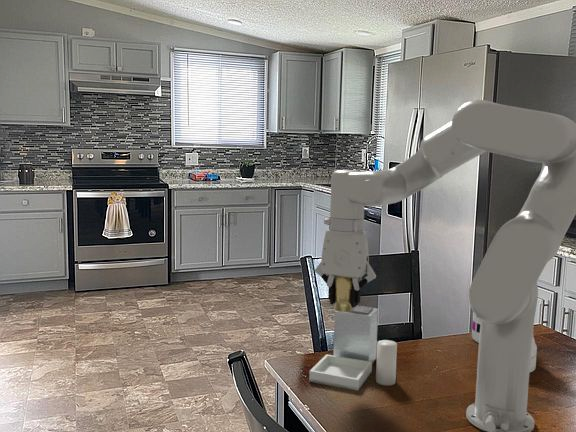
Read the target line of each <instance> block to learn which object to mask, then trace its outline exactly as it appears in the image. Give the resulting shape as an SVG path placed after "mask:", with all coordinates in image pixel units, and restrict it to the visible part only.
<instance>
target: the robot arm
mask: <svg viewBox="0 0 576 432" xmlns="http://www.w3.org/2000/svg"><path fill="white" fill-rule="evenodd" d="M486 152H488V153H492V154H496V155H501V156H505V157H510V158H514V159H518V160H523V161H527V162H530V163H531V162H532V163H538V164H539V163H541V164H542V166H541V171H540V173H539V175H538V177H537V178H536V180H535V181H534V184H533V185H532V187H531V189H530V192H529V193H528V197H527V198H526V200H525V201H524V204H523V206H522V208H521V209H520V211H519V212H518V214H517V216H515V217H514V218H512V219H510V220H507V221H506V222H505V223H504V224H502V226H501V227H500V228H499V229H498V230H497V231H496V233H495V234H494V236H493V239H492V240H491V242H490V243H489V244H490V245H489V246H488V248H487V251H486V252H485V255H484V257H483V259H482V260H481V263H480V265H479V267H478V269H477V271H476V273H475V275H474V277H473V279H472V281H471V284H470V286H469V287H470V288H469V291H468V300H469V301H468V302H469V306H470V308H471V310H472V313H473V312H474V313H475V314H476V315H477V317H479V318H480V319H481V325H480V335H479V343H478V348H477V349H478V351H477V352H478V354H477V365H476V383H475V399H474V402H473V403H472V404H469V405H468V407H467V408H466V411H465V413H466V415H465V416H466V419H467V420H468V422H469V423H470V424H472V425H473V426H474V427H476V428H477V429H479V430H481V431H484V432H533V431H534V428H535V418H533V416H532V415H531V414H530V413H529V412H528V409H527V408H528V396H529V385H530V373H531V372H530V359H531V348H532V336H533V337H534V327H535V326H534V325H535V317H536V313H537V312H536V311H537V305H538V297H539V286H538V280H539V278H540V277H541V275H542V273H543V271H544V269H545V268H546V265H547V264H548V263H549V261H551V260H552V259H553V258H554V257H555V256H556V255H557V253H558V252H559V250H560V247H561V245H562V243H563V240H564V238H565V235H566V233H567V232H568V229H569V228H570V226H571V224H572V222H573V220H574V218H575V216H576V122H575V121H573V120H572V119H571V118H569V117H567V116H564V115H562V114H557V113H552V112H548V111H541V110H535V109H529V108H524V107H520V106H519V107H518V106H512V105H506V104H501V103H496V102H494V101H490V100H485V99H472V100H470V101H467V102H464V103H463V104H462V105H461V106H460V107H459V108H458V109H457V110H456V112H455V113H454V114H453V117H452V120H451V121H449V122H448V123H446V124H444V125H443V126H440V127H439V128H438V129H436V130H434V131H433V132H431V133H429V134H428V135H426V136H425V137H424V138H423V139H422V140H421V141H420V145H419V149H418V150H417V151H416V152H414V154H413V155H411V156H410V157H409V158H407V159H406V160H404V161H403V162H400V163H399V164H396V165H395V166H394V167H391V168H389V169H384V170H383V169H382V170H381V169H380V170H371V171H361V170H358V169H337V170H334V171H333V172H332V174H331V178H330V180H331V181H330V185H331V186H330V205H329V206H330V209H329V210H330V211H329V214H330V215H329V217H328V218H324V221H323V225H327V226H328V228H329V229H327V230H325V234H324V237H323V243H322V244H323V245H322V251H321V261H320V263H318V265H317V266H316V268H315V269H314V272H315V273H316V274H317V275H318V276H320V277H321V279H322V280H323V282H324V283H326V286H327V287H328V292H327V293H328V297H327V298H328V300H329V305H334V303H335V276H341V277H350V278H352V280H353V285H354V287H353V290H352V294H351V307H353V308H354V307H356V306H357V305H358V304H360V302H361V293H362V292H361V291H362V290H361V289H362V288H363V287H364V286H365V285H366V284H368V283H370V282H371V281H373V280H374V279H376V277H377V275H376V273H375V271H374V269H373V267H372V266H371V264H370V259H369V258H370V257H369V242H368V237H367V236H368V235H367V232H366V231H364V223H365V222H364V221H365V206H366V207H374V208H375V207H377V208H378V207H381V206H386V205H392V204H397V203H398V202H399V203H400V202H401V201H403V200H406V199H407V198H409V197H411V196H412V195H414V194H416V193H418V192H420V191H422V190H423V189H426V188H427V187H428V186H430V185H432V184H433V183H434V182H436V181H439V179H441V178H442V177H444V176H445V175H447V174H448V173H450V172H452V171H453V170H455V169H458V168H459V167H460V166H462V165H465V164H466V163H468V162H469V161H472V160H474V159H475V158H477V157H479V156H481V155H483V154H484V153H486ZM366 274H367V276H365V275H366ZM363 276H365V277H364V278H363ZM362 278H363V279H362ZM358 306H359V305H358Z"/></svg>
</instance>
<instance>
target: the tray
mask: <svg viewBox="0 0 576 432" xmlns="http://www.w3.org/2000/svg"><path fill="white" fill-rule="evenodd" d="M372 369H373V363H372V362H369V361H363V360H357V359H351V358H345V357H340V356H334V355H332V354H327V353H326V354H325V355H324V356H323V357H321V359H320V360H319V361H318V362H317V363H316V364H315V365H314V366H313V367H312V368H311V369H310V370H309V373H308V374H309V375H308V377H309V378H308V380H309V381H308V382H309V383H315V384H320V385H324V386H325V385H326V386H330V387H335V388H340V389H347V390H351V391H357V392H358V391H359V390H360V389H361V388H362V386H363V385H364V383H365V382H366V381H367V379H368V378H369V376H370V375H371V373H372V372H373V371H372Z"/></svg>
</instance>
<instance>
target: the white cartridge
mask: <svg viewBox="0 0 576 432" xmlns="http://www.w3.org/2000/svg"><path fill="white" fill-rule="evenodd" d="M397 349H398V343H397V342H396V341H394V340H389V339H382V340H377V349H376V370H375V382H376V383H378V385H381V386H394V385H395V384H396V379H397V378H396V377H397Z"/></svg>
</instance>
